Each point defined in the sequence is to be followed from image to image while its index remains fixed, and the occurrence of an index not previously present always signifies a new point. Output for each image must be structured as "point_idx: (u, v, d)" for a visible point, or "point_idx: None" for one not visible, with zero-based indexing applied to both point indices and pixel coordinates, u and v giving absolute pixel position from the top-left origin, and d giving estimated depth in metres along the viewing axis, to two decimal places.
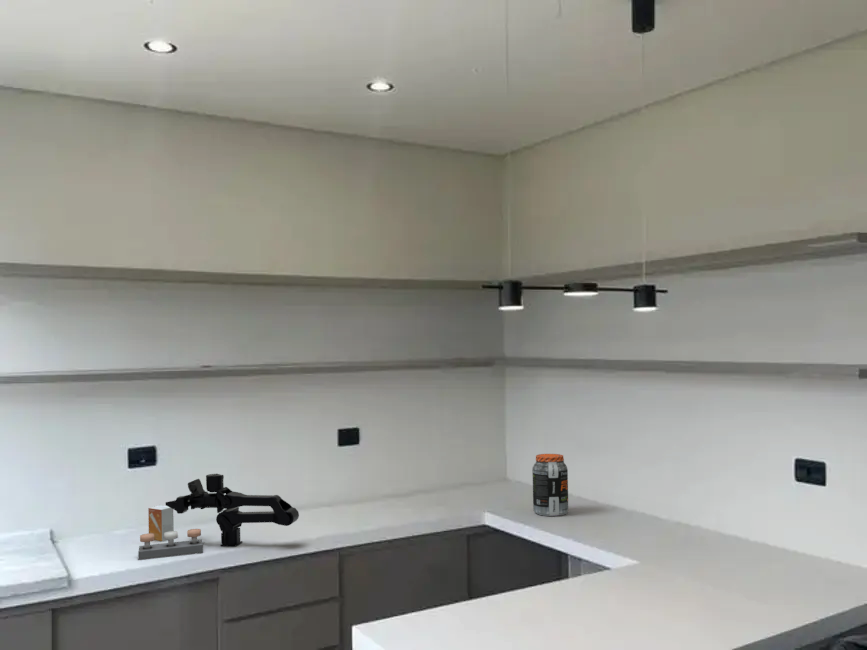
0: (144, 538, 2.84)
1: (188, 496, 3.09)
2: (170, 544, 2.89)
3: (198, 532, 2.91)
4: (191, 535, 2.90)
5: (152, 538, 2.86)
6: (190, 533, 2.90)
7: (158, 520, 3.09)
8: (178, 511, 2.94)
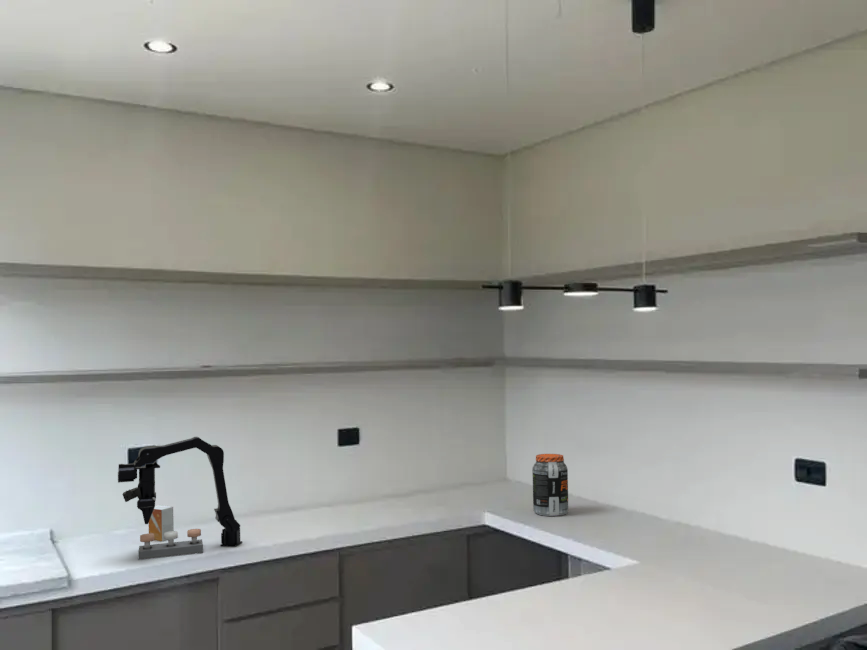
0: (144, 538, 2.84)
1: None
2: (170, 544, 2.89)
3: (198, 532, 2.91)
4: (191, 535, 2.90)
5: (152, 538, 2.86)
6: (190, 533, 2.90)
7: (158, 520, 3.09)
8: (152, 504, 2.79)
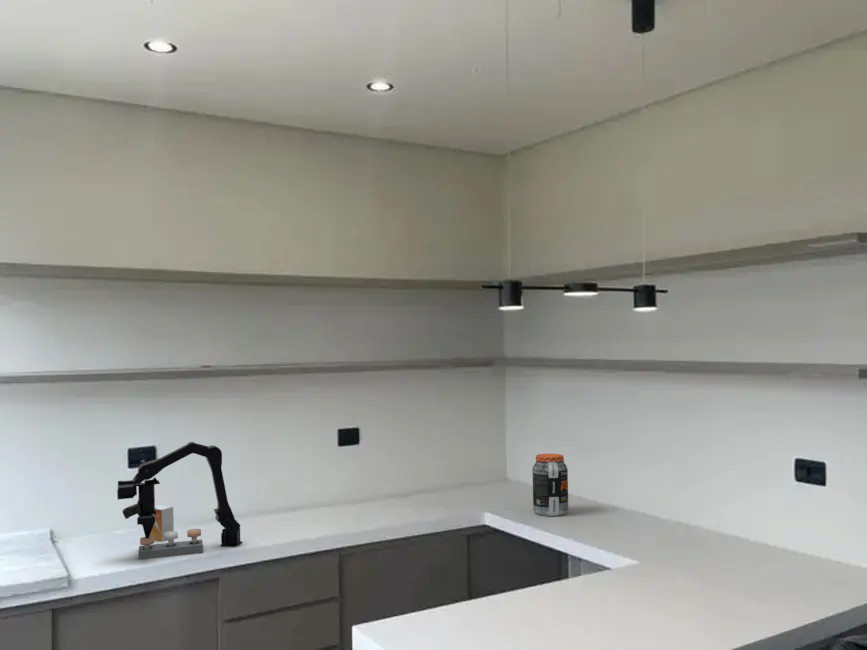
0: (144, 541, 2.84)
1: None
2: (170, 544, 2.89)
3: (198, 532, 2.91)
4: (191, 535, 2.90)
5: (152, 541, 2.86)
6: (190, 533, 2.90)
7: (158, 520, 3.09)
8: (152, 521, 2.79)
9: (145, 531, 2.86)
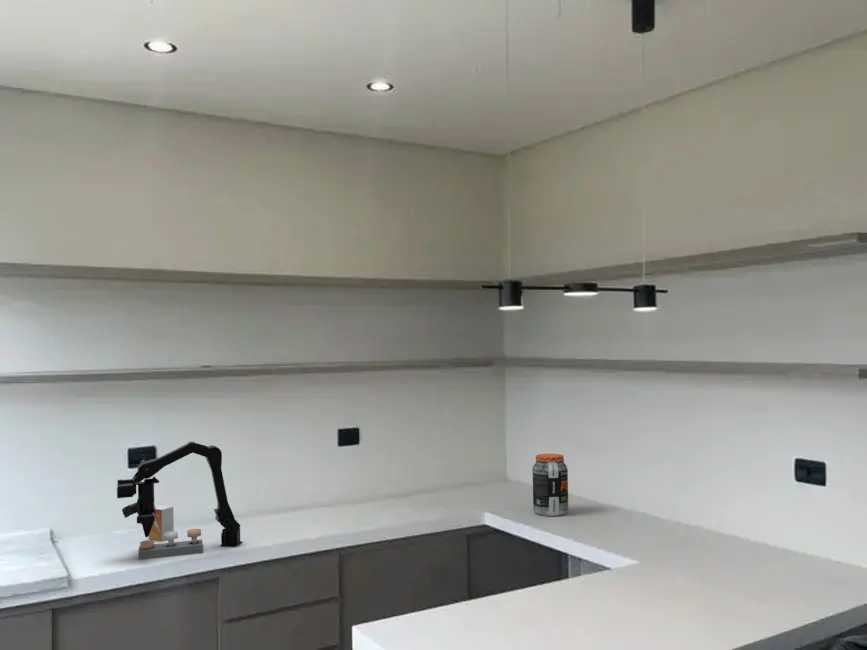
0: (144, 545, 2.84)
1: None
2: (170, 544, 2.89)
3: (198, 532, 2.91)
4: (191, 535, 2.90)
5: (152, 545, 2.86)
6: (190, 533, 2.90)
7: (158, 520, 3.09)
8: (151, 520, 2.79)
9: (145, 530, 2.86)
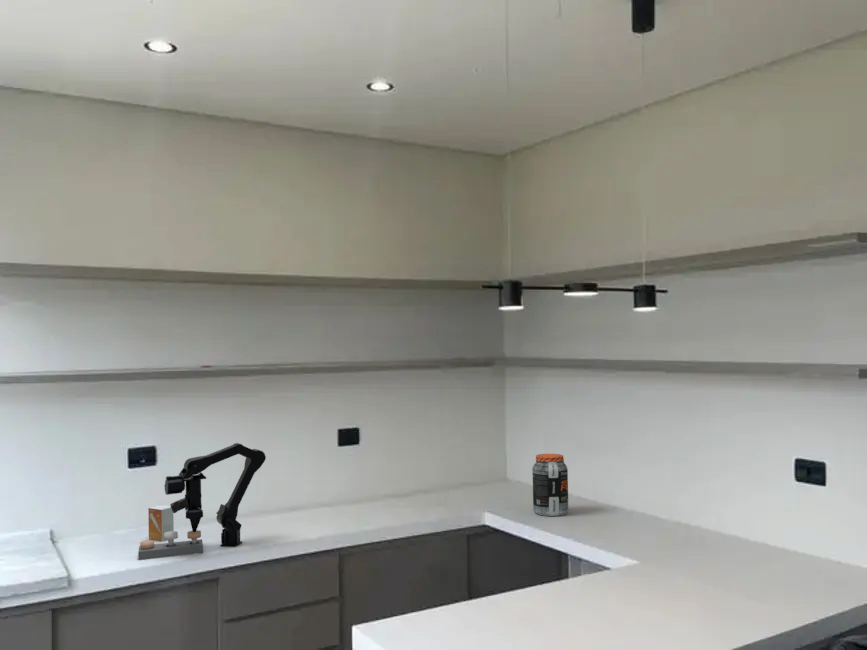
0: (144, 545, 2.84)
1: None
2: (170, 544, 2.89)
3: (198, 534, 2.91)
4: (191, 537, 2.90)
5: (152, 545, 2.86)
6: (190, 535, 2.90)
7: (158, 520, 3.09)
8: (200, 515, 2.85)
9: (192, 525, 2.91)
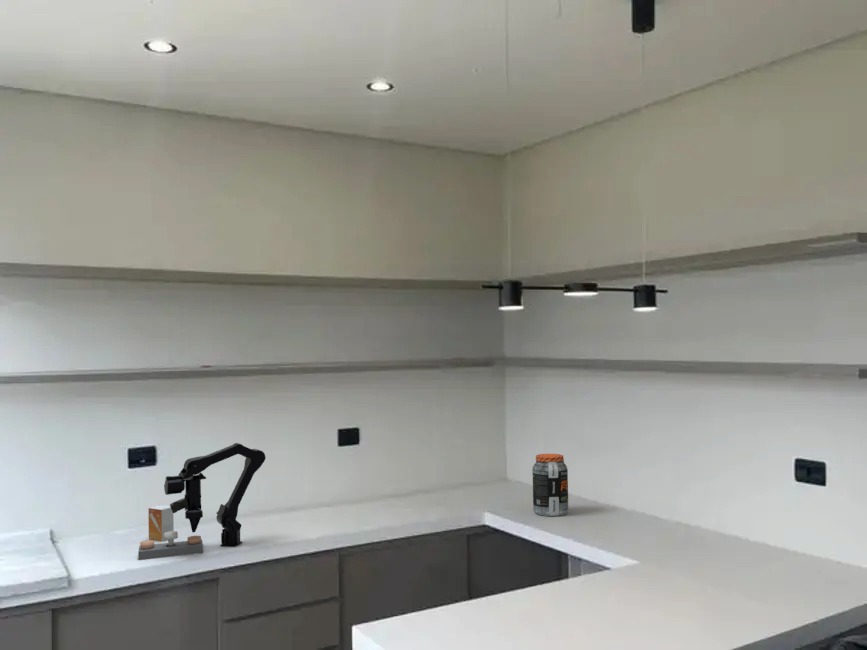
0: (144, 545, 2.84)
1: None
2: (170, 544, 2.89)
3: (198, 539, 2.91)
4: (191, 542, 2.90)
5: (152, 545, 2.86)
6: (190, 540, 2.90)
7: (158, 520, 3.09)
8: (200, 515, 2.85)
9: (192, 525, 2.91)
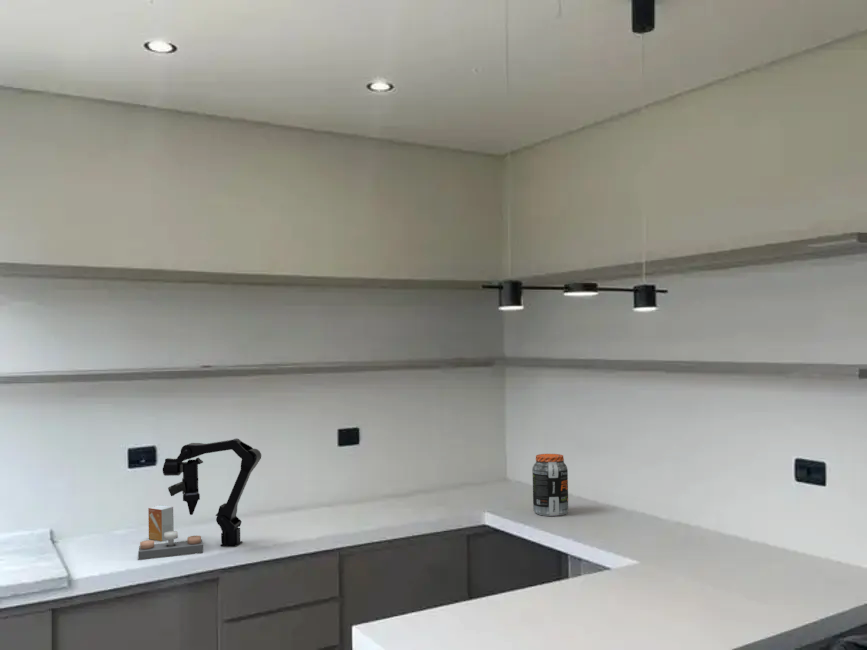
0: (144, 545, 2.84)
1: None
2: (170, 544, 2.89)
3: (198, 539, 2.91)
4: (191, 542, 2.90)
5: (152, 545, 2.86)
6: (190, 540, 2.90)
7: (158, 520, 3.09)
8: (197, 498, 2.93)
9: (189, 508, 3.00)
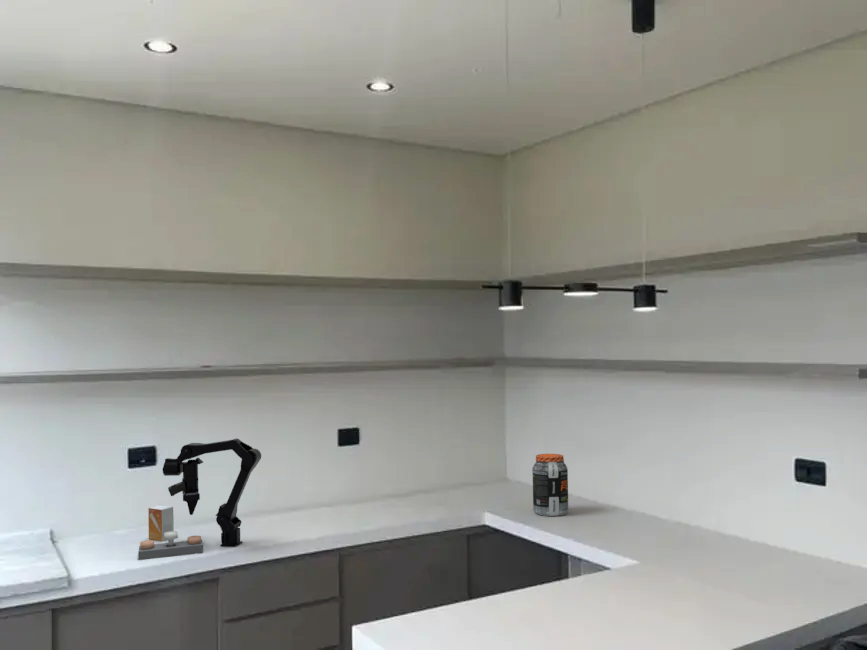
0: (144, 545, 2.84)
1: None
2: (170, 544, 2.89)
3: (198, 539, 2.91)
4: (191, 542, 2.90)
5: (152, 545, 2.86)
6: (190, 540, 2.90)
7: (158, 520, 3.09)
8: (197, 498, 2.93)
9: (189, 508, 3.00)
